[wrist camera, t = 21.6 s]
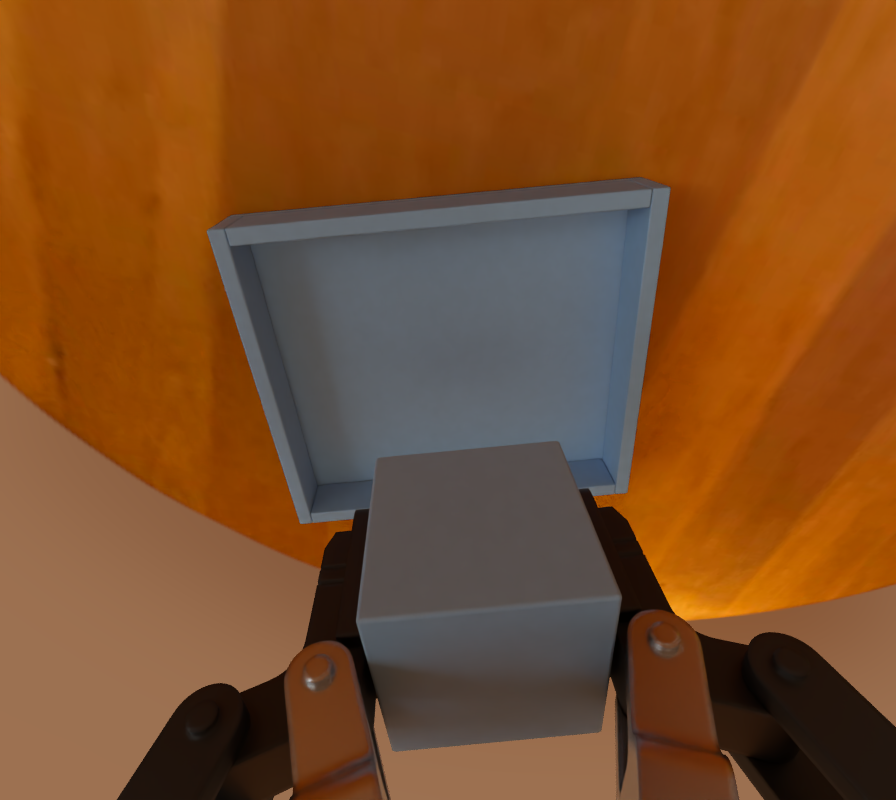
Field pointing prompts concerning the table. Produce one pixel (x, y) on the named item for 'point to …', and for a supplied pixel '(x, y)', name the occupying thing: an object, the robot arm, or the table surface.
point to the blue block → (485, 598)
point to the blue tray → (447, 329)
